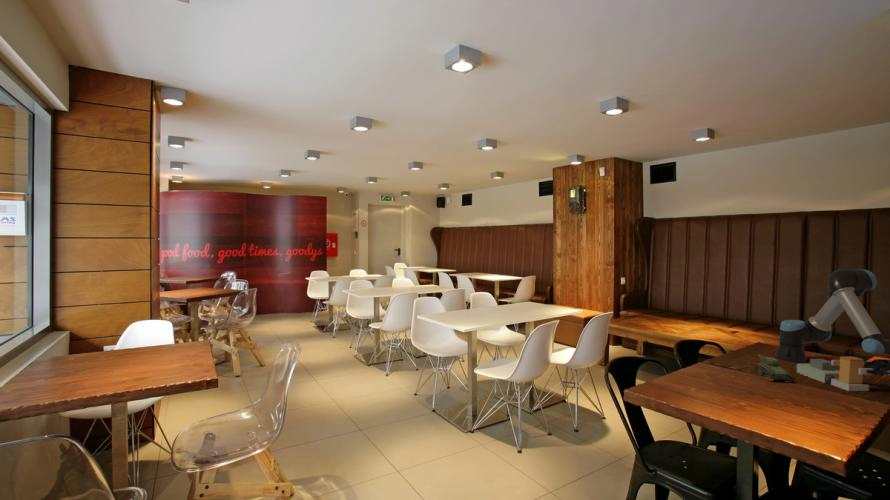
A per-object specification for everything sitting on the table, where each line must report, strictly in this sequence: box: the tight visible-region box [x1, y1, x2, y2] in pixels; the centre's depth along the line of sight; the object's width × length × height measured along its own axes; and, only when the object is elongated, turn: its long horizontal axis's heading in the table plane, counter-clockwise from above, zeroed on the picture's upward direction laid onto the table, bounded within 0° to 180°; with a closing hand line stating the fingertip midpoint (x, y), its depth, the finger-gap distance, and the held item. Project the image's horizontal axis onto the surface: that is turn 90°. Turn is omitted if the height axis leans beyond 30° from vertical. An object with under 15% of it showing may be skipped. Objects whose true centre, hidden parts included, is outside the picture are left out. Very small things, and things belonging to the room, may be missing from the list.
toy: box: [754, 354, 792, 383], centre depth 229 cm, size 10×18×10 cm, turn 175°
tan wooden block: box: [838, 356, 865, 384], centre depth 215 cm, size 5×7×15 cm
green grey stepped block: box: [793, 358, 870, 392], centre depth 225 cm, size 29×13×9 cm, turn 4°
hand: (845, 366), depth 214 cm, fingers open, 13 cm apart
